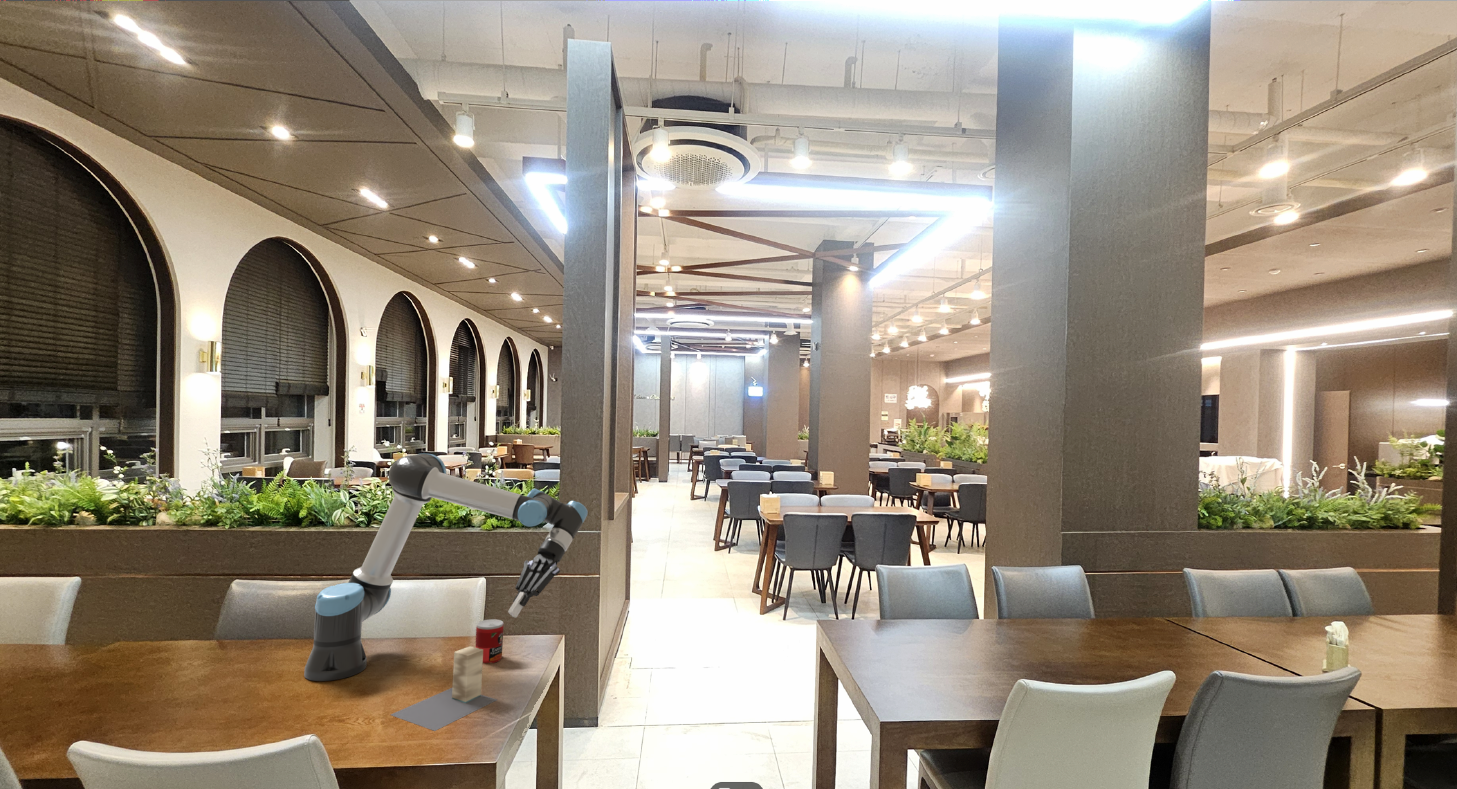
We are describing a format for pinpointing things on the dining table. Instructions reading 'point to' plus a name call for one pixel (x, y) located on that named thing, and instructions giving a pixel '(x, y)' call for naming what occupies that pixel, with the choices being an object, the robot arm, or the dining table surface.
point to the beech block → (467, 674)
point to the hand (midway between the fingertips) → (512, 614)
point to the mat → (440, 710)
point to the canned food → (490, 639)
